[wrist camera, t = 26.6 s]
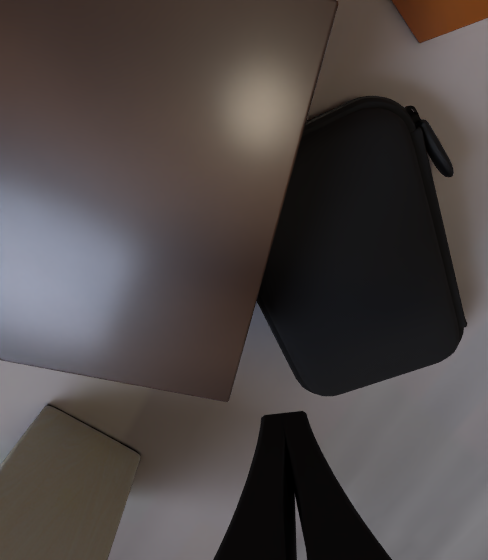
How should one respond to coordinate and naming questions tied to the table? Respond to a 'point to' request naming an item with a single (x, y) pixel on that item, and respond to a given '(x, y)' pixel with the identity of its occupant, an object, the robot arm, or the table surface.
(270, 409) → the table surface
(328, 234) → the carrying case
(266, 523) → the robot arm
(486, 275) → the table surface
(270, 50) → the cabinet
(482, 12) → the snack box
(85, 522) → the toy refrigerator
